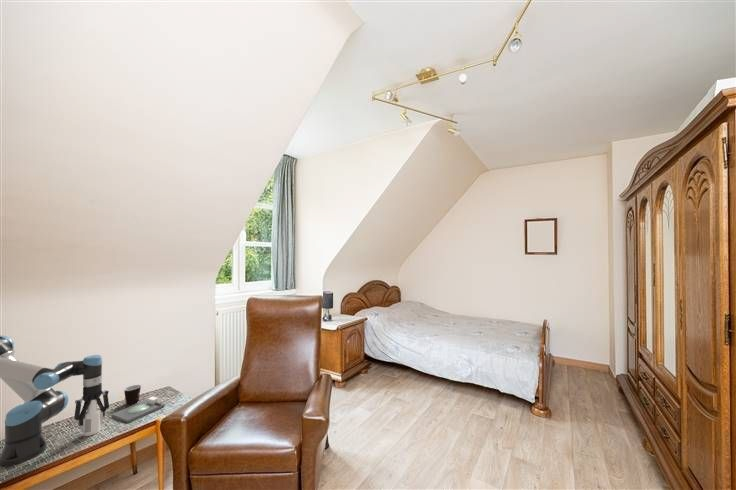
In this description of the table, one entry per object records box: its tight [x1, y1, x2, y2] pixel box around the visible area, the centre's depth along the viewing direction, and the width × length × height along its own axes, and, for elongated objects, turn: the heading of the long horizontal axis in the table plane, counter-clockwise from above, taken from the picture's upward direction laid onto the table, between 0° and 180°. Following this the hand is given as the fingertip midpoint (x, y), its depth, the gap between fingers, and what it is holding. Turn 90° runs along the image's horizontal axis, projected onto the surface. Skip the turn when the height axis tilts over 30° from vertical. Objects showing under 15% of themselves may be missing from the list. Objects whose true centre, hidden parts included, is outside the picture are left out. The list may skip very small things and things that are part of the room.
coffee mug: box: [123, 384, 142, 406], centre depth 193 cm, size 12×9×10 cm
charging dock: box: [110, 396, 165, 424], centre depth 181 cm, size 20×18×4 cm
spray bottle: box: [83, 400, 102, 437], centre depth 160 cm, size 7×7×18 cm
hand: (92, 427), depth 159 cm, fingers closed on spray bottle, 7 cm apart
